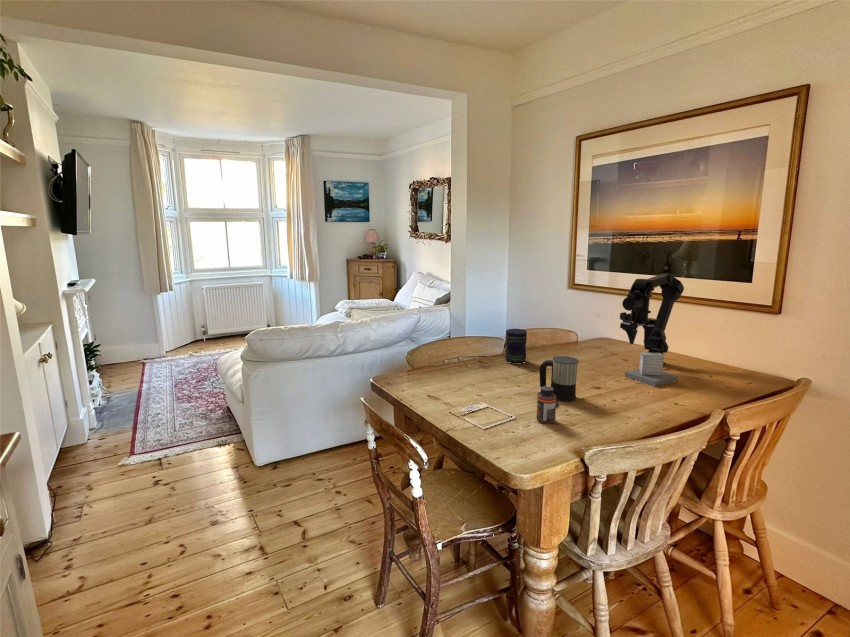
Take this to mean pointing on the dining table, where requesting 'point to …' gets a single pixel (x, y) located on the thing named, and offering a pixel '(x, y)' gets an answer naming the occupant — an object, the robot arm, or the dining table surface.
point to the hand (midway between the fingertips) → (638, 343)
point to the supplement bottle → (546, 405)
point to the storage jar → (515, 345)
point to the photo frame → (476, 407)
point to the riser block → (651, 378)
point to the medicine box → (651, 364)
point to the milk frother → (561, 377)
